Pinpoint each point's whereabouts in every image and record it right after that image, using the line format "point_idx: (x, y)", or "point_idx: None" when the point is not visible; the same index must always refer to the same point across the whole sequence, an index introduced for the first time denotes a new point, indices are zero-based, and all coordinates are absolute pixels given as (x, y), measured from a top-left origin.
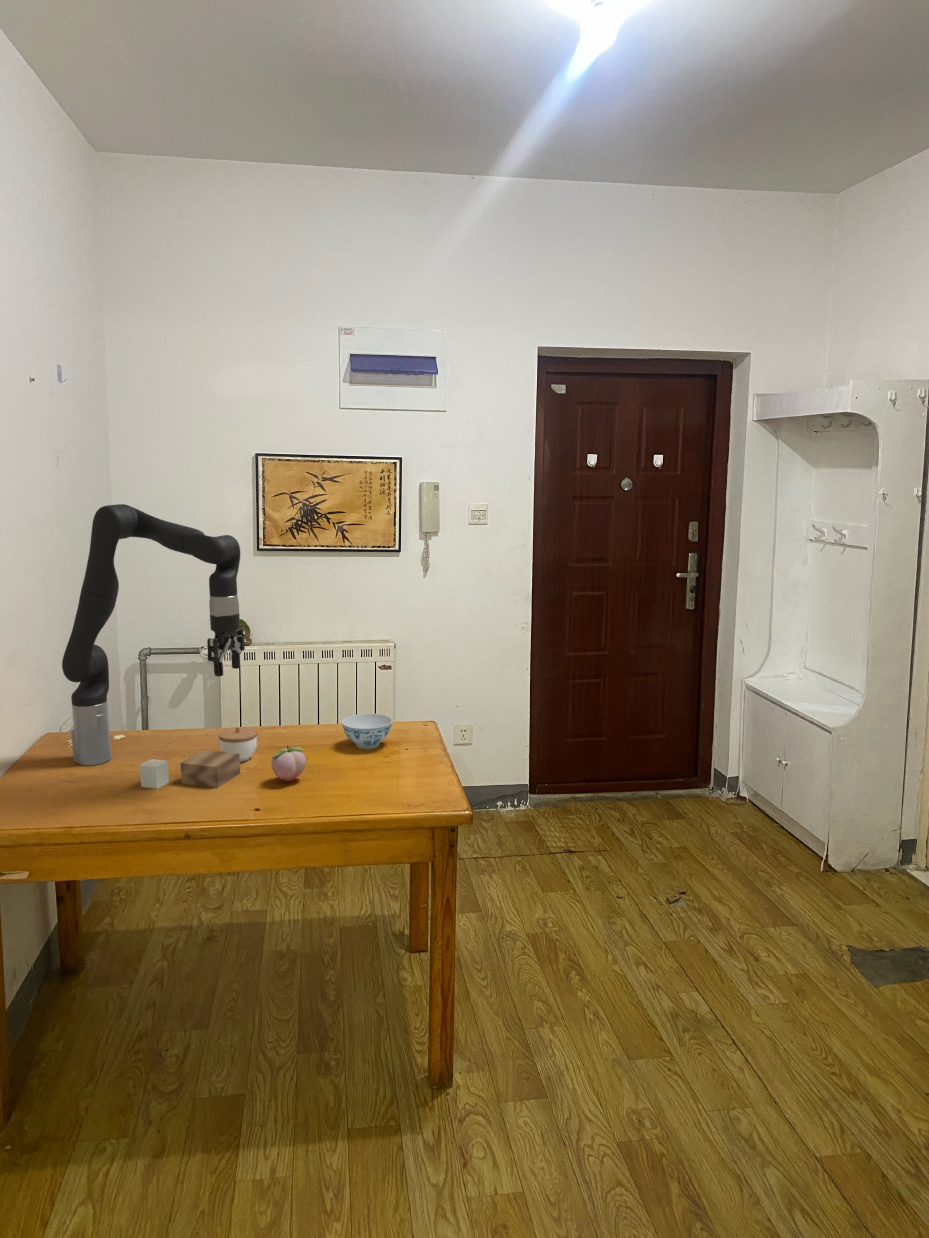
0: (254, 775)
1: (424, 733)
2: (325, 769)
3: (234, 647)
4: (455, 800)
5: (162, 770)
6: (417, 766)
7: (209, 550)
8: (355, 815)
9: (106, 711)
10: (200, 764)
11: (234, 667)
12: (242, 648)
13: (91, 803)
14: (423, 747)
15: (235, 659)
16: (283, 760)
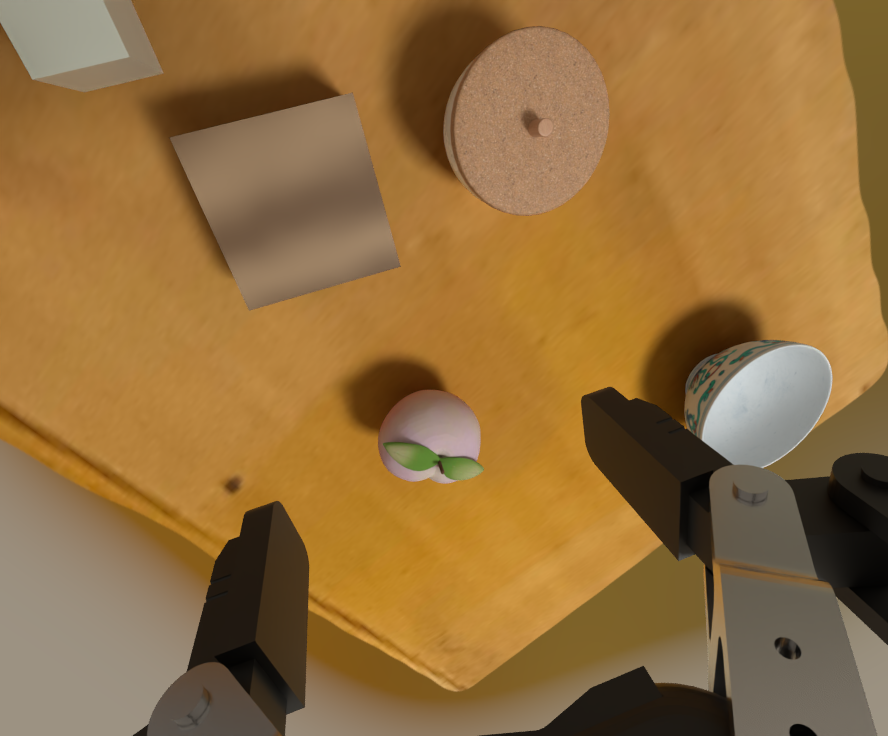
0: (401, 301)
1: None
2: (529, 417)
3: (722, 694)
4: (498, 665)
5: (99, 73)
6: (618, 536)
7: None
8: (350, 623)
9: None
10: (222, 233)
11: (587, 419)
12: (833, 588)
13: None
14: None
15: (642, 487)
16: (394, 473)
